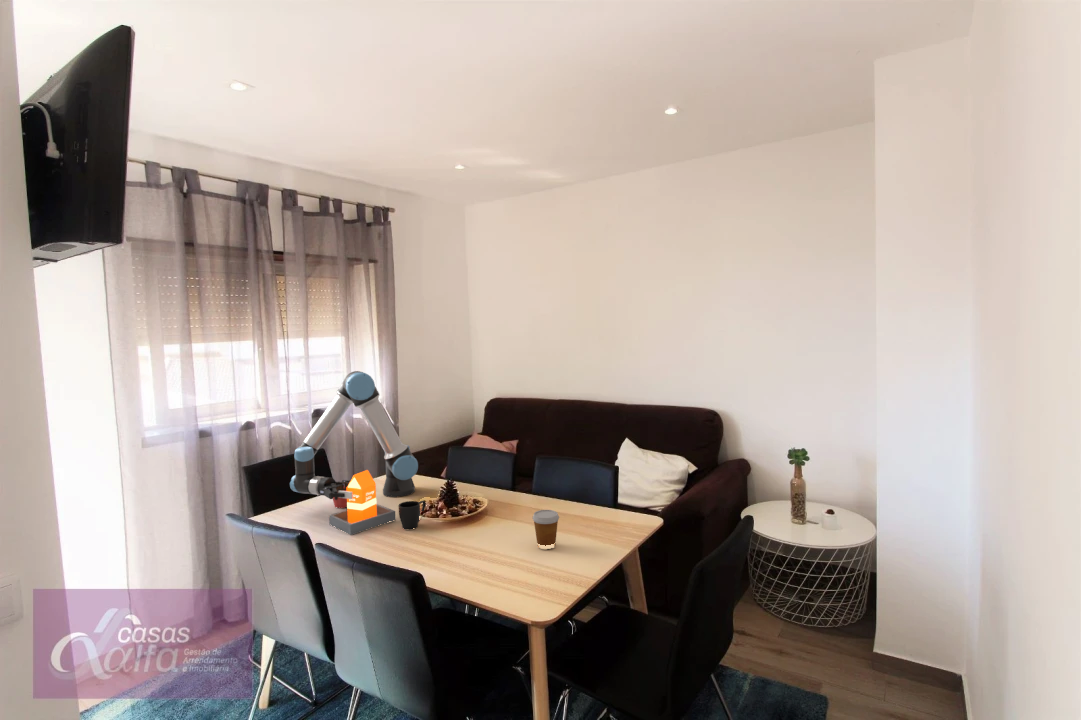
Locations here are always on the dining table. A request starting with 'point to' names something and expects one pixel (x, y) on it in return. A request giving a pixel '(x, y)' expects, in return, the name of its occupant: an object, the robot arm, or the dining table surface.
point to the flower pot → (340, 502)
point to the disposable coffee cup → (545, 526)
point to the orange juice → (361, 497)
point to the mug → (410, 513)
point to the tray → (351, 528)
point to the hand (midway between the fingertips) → (363, 490)
